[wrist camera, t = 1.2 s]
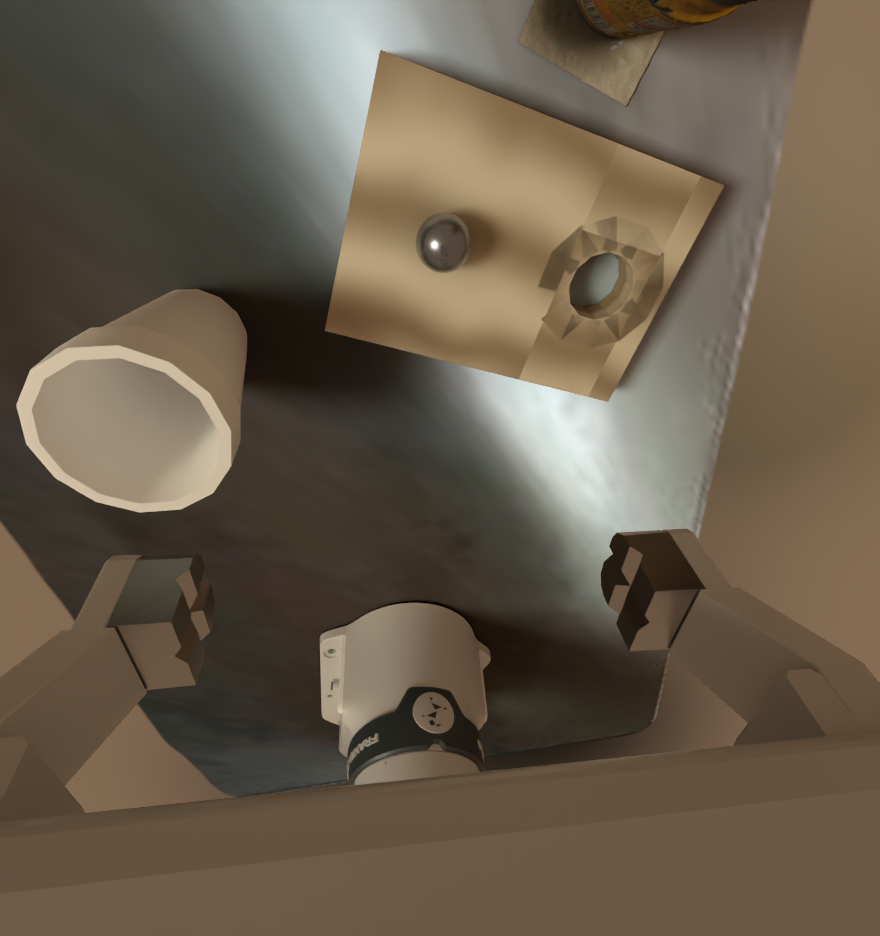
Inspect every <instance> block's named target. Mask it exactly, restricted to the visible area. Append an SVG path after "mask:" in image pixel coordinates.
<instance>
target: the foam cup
mask: <svg viewBox="0 0 880 936" xmlns="http://www.w3.org/2000/svg"><path fill="white" fill-rule="evenodd" d="M246 357H247V332H246V330H245V327H244V325H243V323H242V321H241V319H240V317H239V315H238V313H237V312H236V311H235V310H233V309H232V308H231V307H230V306H229V305H228V304H227V303H226V302H224V301H223V300H222V299H221V298H220V297H217V296H215V295H212V294H209V293H207V292H204V291H201V290H199V289H186V290H174V291H172V292H169V293H167V294H165V295H164V296H162V297H160V298H158V299H156V300H154V301H152V302H150V303H148V304H146V305H144V306H142V307H140V308H138V309H136V310H134V311H132V312H130V313H128V314H127V315H125V316H123V317H121V318H119V319H117V320H115V321H113V322H111V323H109V324H107V325H105V326H103V327H99V328H89V329H88V330H86V331H84V332H83V333H81V334H79V335H78V336H76V337H74V338H73V339H71V340H69V341H68V342H66V343H64V344H63V345H61V346H59V347H58V348H56V349H55V350H54V351H52V352H51V353H50V354H49V355H48V356H46V357H45V358H44V359H43V360H42V361H40V362H39V363H38V364H37V365H36V366H35V367H33V368H32V369H31V370H30V372H29V375H28V377H27V380H26V382H25V385H24V387H23V390H22V392H21V395H20V397H19V400H18V402H17V405H16V406H17V410H18V414H19V417H20V421H21V425H22V429H23V433H24V437H25V441H26V444H27V445H28V447H29V448H30V449H31V450H32V451H33V452H34V454H35V455H36V456H37V457H38V458H39V459H40V461H41V462H42V463H43V464H44V465H45V467H46V468H47V469H48V470H49V471H50V472H51V474H52V475H53V476H54V477H55V478H56V479H58V480H59V481H61V482H63V483H65V484H66V485H68V486H70V487H71V488H73V489H75V490H77V491H78V492H80V493H82V494H83V495H85V496H87V497H88V498H90V499H92V500H94V501H95V502H99V503H103V504H107V505H111V506H115V507H119V508H124V509H128V510H132V511H136V512H152V511H165V510H178V509H182V508H184V507H186V506H188V505H190V504H192V503H194V502H196V501H198V500H200V499H202V498H204V497H206V496H208V495H210V494H212V493H213V492H214V491H215V489H216V488H217V486H218V485H219V483H220V482H221V480H222V479H223V477H224V476H225V474H226V473H227V471H228V470H229V468H230V467H231V465H232V462H233V460H234V457H235V454H236V451H237V448H238V446H239V443H240V407H241V399H242V390H243V382H244V374H245V366H246Z"/></svg>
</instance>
